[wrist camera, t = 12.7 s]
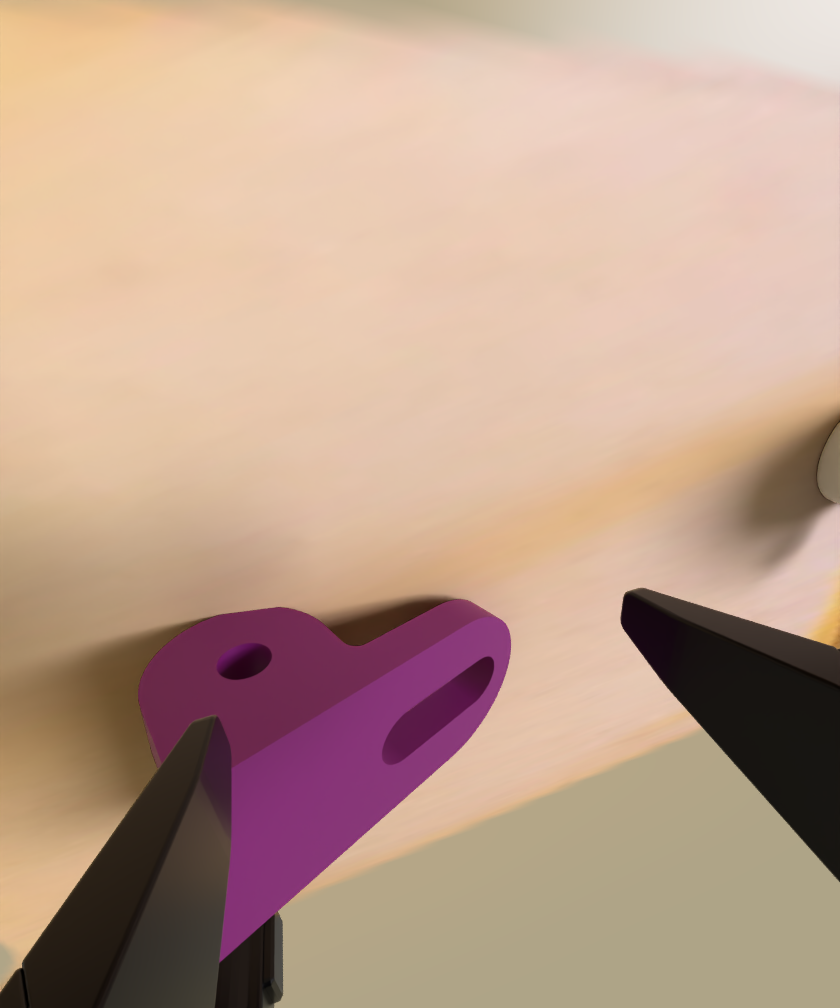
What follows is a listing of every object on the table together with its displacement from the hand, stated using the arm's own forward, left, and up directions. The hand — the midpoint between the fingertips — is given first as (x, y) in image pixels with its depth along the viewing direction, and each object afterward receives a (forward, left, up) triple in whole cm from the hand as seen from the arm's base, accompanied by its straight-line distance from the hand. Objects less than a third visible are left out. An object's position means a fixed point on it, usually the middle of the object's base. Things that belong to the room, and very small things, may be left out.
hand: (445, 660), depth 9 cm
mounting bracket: (-2, -12, -14) cm, 18 cm away
